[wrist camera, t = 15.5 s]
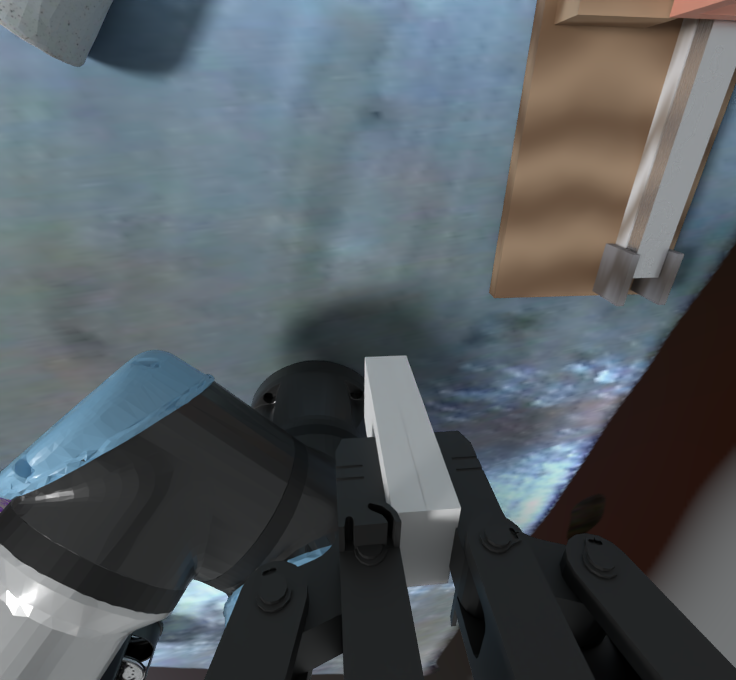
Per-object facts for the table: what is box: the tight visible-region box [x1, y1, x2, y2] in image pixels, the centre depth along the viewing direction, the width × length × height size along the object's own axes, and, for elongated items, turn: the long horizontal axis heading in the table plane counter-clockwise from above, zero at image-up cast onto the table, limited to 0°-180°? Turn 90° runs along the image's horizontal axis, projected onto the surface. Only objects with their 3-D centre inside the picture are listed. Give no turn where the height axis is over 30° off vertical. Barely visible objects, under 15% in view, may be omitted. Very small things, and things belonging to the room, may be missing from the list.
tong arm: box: [627, 19, 736, 278], centre depth 33 cm, size 24×3×2 cm, turn 179°
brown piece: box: [489, 0, 736, 306], centre depth 34 cm, size 30×18×6 cm, turn 179°
